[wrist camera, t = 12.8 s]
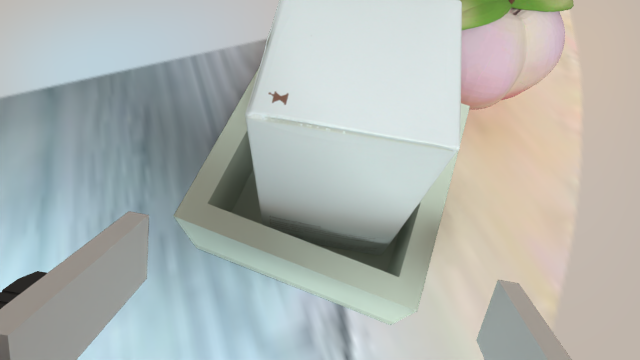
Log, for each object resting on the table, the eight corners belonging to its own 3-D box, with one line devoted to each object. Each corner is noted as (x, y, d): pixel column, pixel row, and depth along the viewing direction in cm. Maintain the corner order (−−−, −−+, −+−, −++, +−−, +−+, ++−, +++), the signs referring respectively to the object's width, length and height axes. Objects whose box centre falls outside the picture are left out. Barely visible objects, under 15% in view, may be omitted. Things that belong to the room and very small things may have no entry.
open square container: (196, 247, 25) (173, 216, 20) (277, 95, 30) (274, 40, 25) (390, 325, 24) (417, 311, 19) (439, 152, 29) (469, 106, 24)
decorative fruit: (472, 36, 34) (537, -86, 25) (534, 110, 31) (633, 3, 22) (374, 70, 32) (408, -50, 23) (431, 155, 29) (495, 55, 20)
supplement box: (383, 259, 24) (464, 156, 13) (260, 235, 24) (235, 113, 13) (395, 153, 28) (468, -4, 16) (286, 132, 28) (284, -37, 16)
